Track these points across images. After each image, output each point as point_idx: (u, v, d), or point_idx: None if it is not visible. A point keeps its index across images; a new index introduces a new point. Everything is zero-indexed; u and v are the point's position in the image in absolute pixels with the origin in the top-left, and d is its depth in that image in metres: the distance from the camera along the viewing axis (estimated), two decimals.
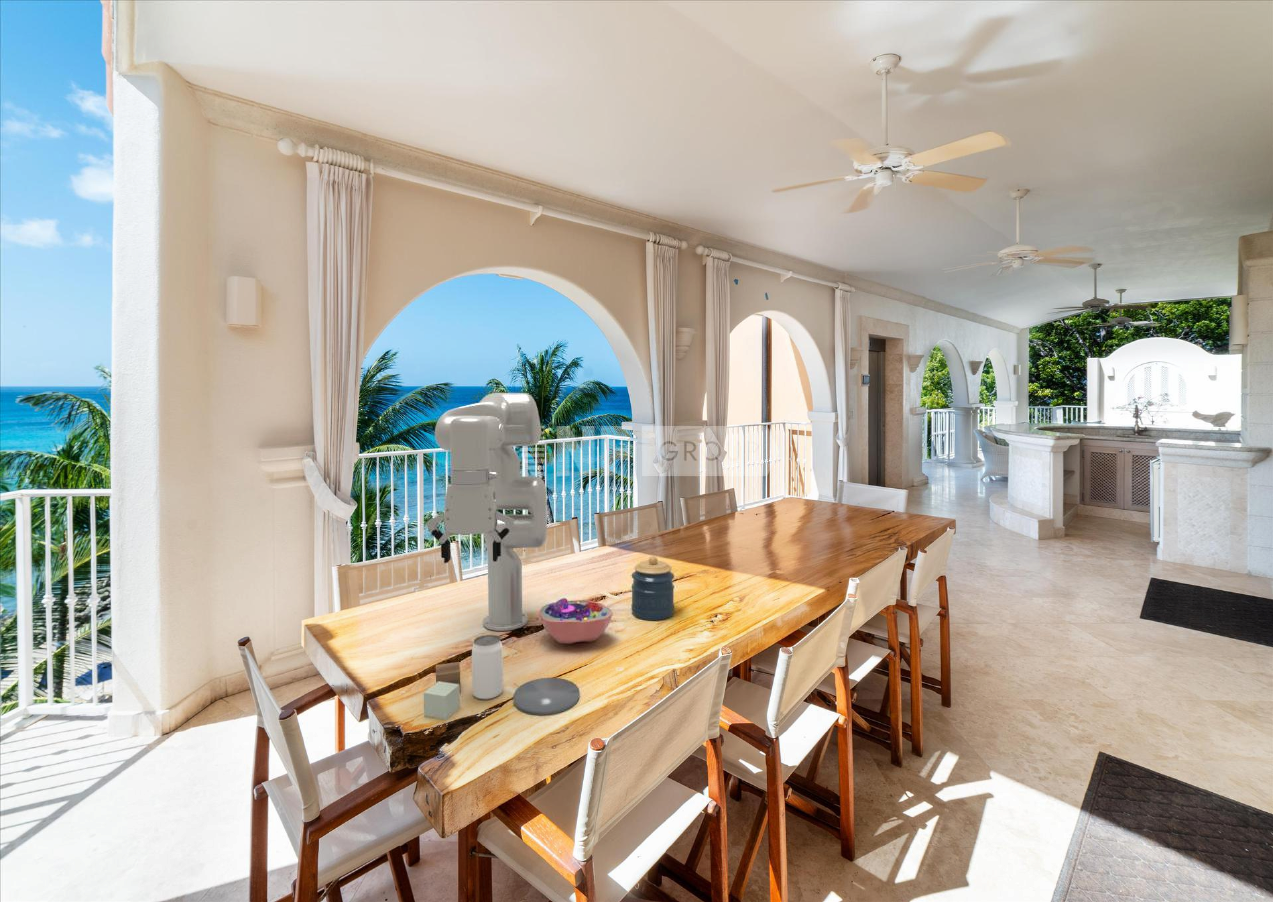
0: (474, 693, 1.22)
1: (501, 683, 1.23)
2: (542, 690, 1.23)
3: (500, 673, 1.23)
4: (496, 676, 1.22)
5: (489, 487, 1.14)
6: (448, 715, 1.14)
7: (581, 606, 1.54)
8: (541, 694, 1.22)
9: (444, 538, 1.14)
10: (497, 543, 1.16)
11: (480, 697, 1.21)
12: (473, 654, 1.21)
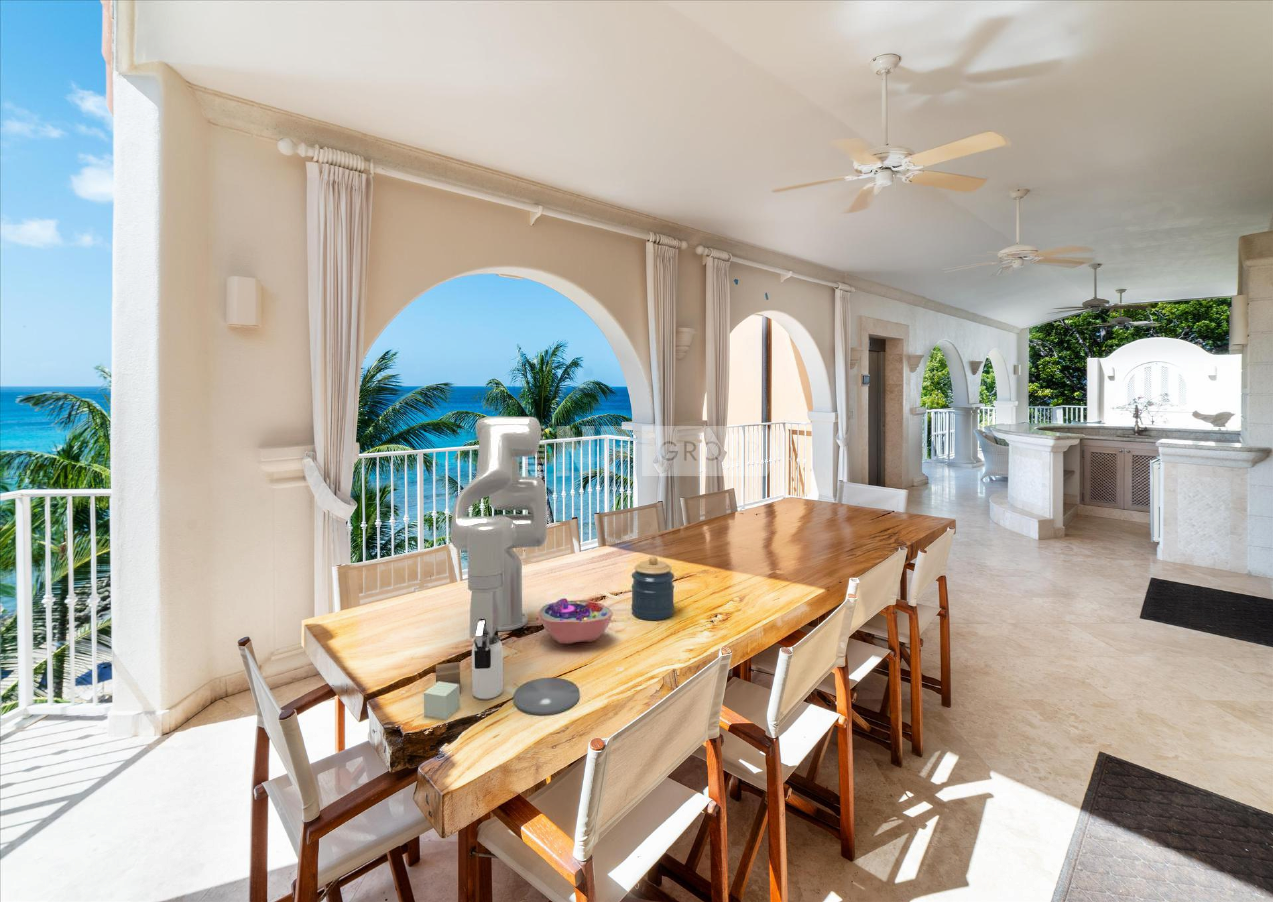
0: (474, 693, 1.22)
1: (501, 683, 1.23)
2: (542, 690, 1.23)
3: (500, 673, 1.23)
4: (496, 676, 1.22)
5: None
6: (448, 715, 1.14)
7: (581, 606, 1.54)
8: (541, 694, 1.22)
9: (488, 644, 1.18)
10: (494, 632, 1.28)
11: (480, 697, 1.21)
12: (473, 654, 1.21)
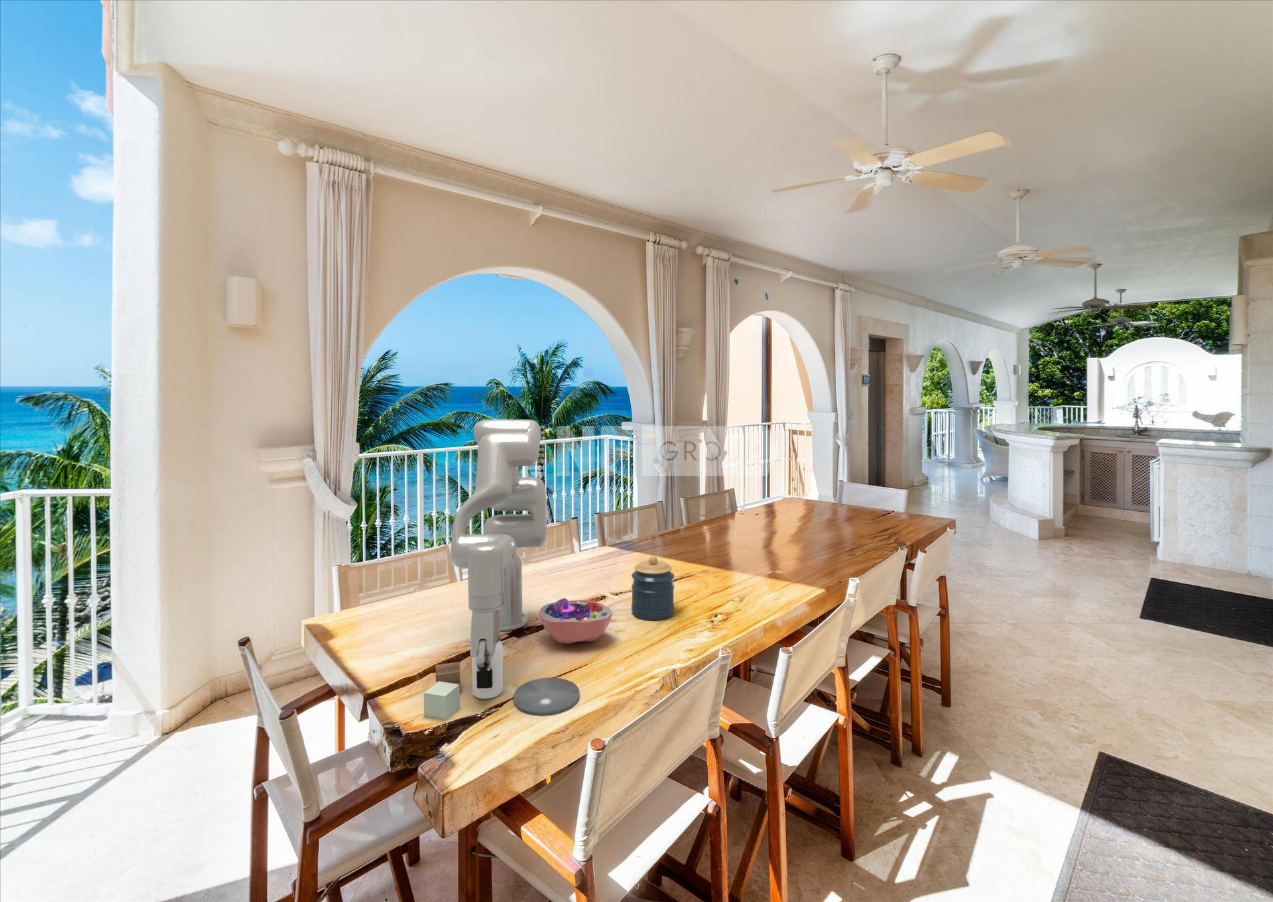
0: (474, 693, 1.22)
1: (501, 683, 1.23)
2: (542, 690, 1.23)
3: (500, 673, 1.23)
4: (496, 675, 1.22)
5: None
6: (448, 715, 1.14)
7: (581, 606, 1.54)
8: (541, 694, 1.22)
9: (490, 664, 1.20)
10: None
11: (480, 697, 1.21)
12: None
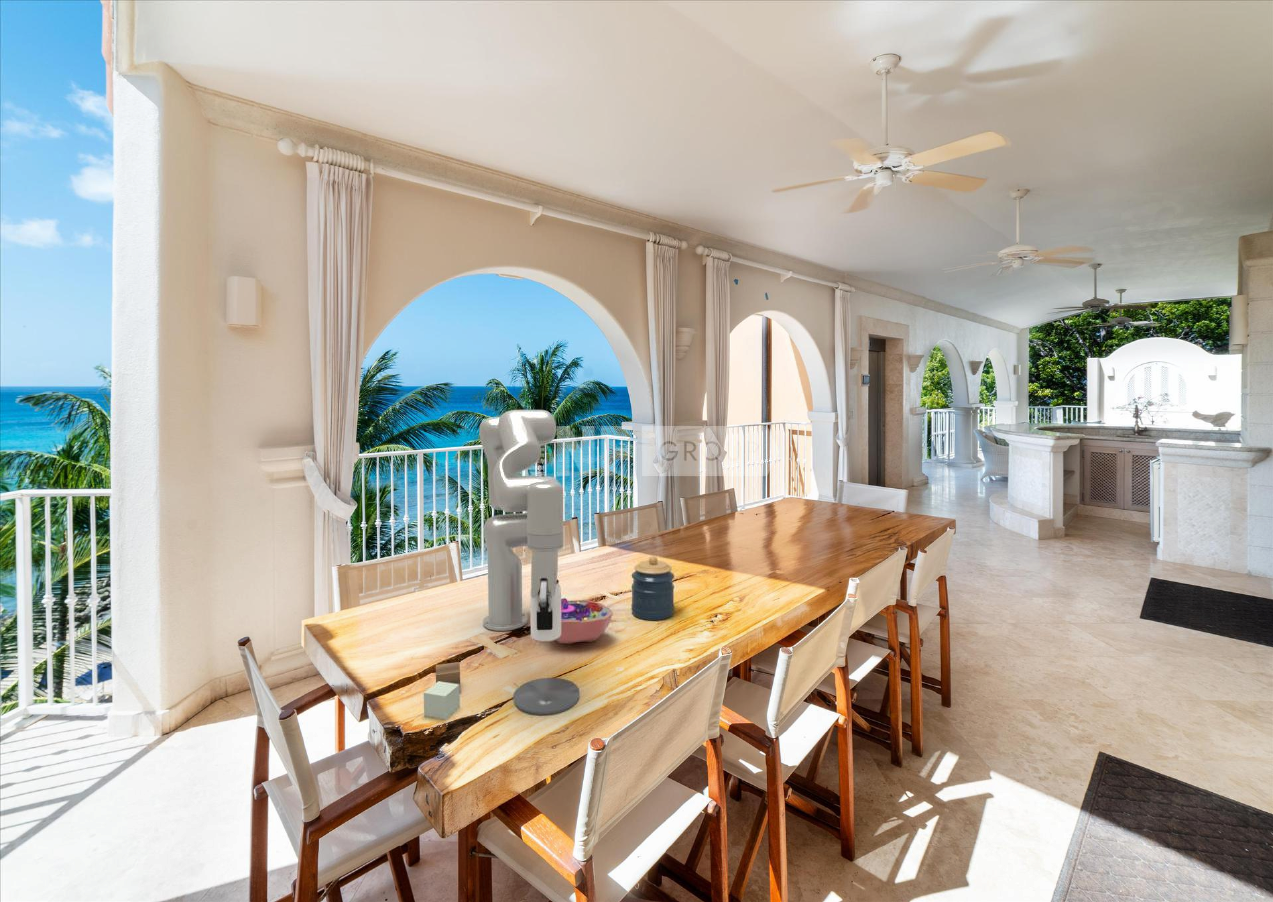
0: (533, 636, 1.19)
1: (560, 626, 1.20)
2: (542, 690, 1.23)
3: (559, 616, 1.20)
4: (556, 618, 1.19)
5: None
6: (448, 715, 1.14)
7: (581, 606, 1.54)
8: (541, 694, 1.22)
9: (550, 605, 1.17)
10: None
11: (540, 639, 1.18)
12: None
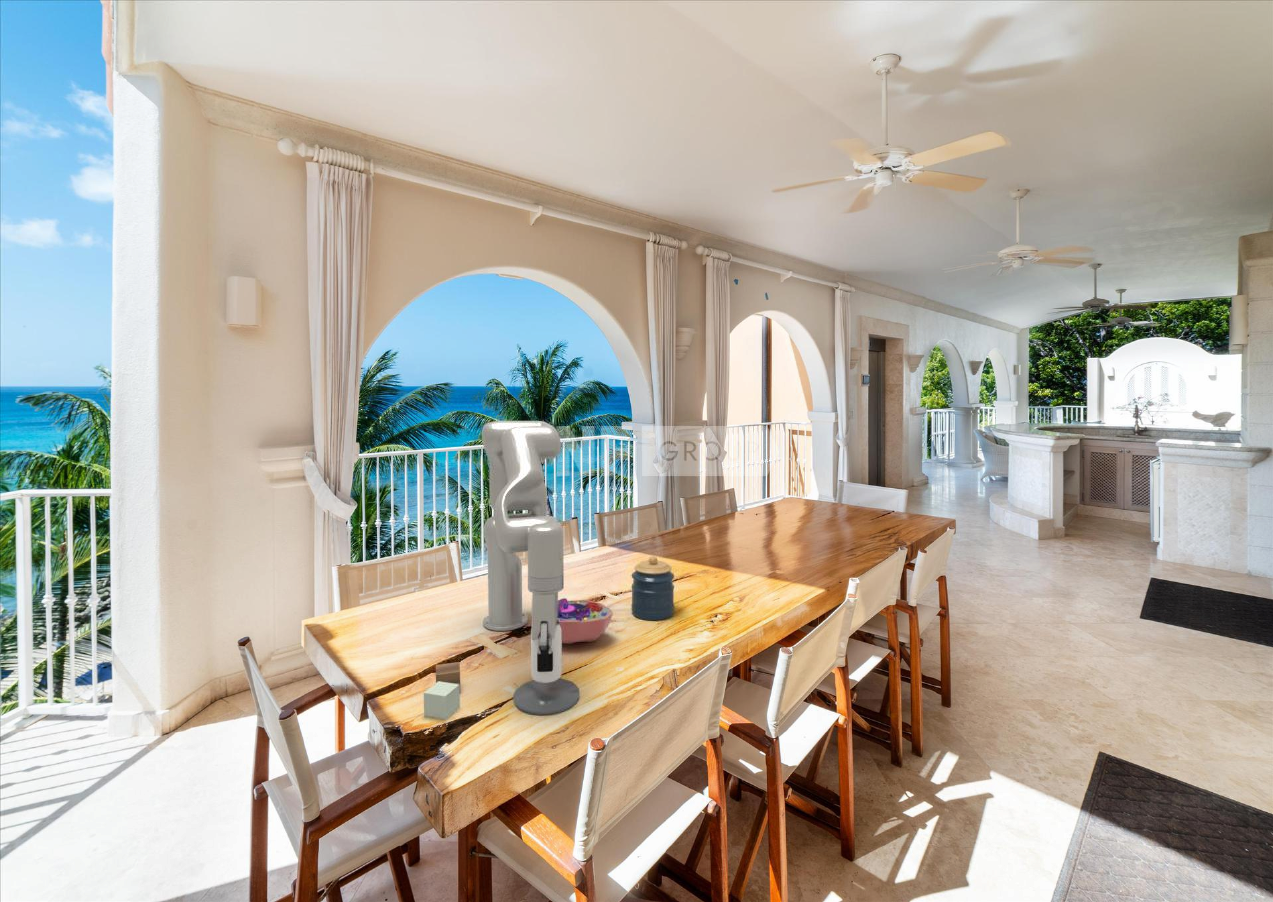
0: (533, 677, 1.19)
1: (560, 667, 1.21)
2: (542, 690, 1.23)
3: (560, 657, 1.20)
4: (556, 659, 1.19)
5: None
6: (448, 715, 1.14)
7: (581, 606, 1.54)
8: (541, 694, 1.22)
9: (551, 647, 1.17)
10: None
11: (540, 681, 1.19)
12: None
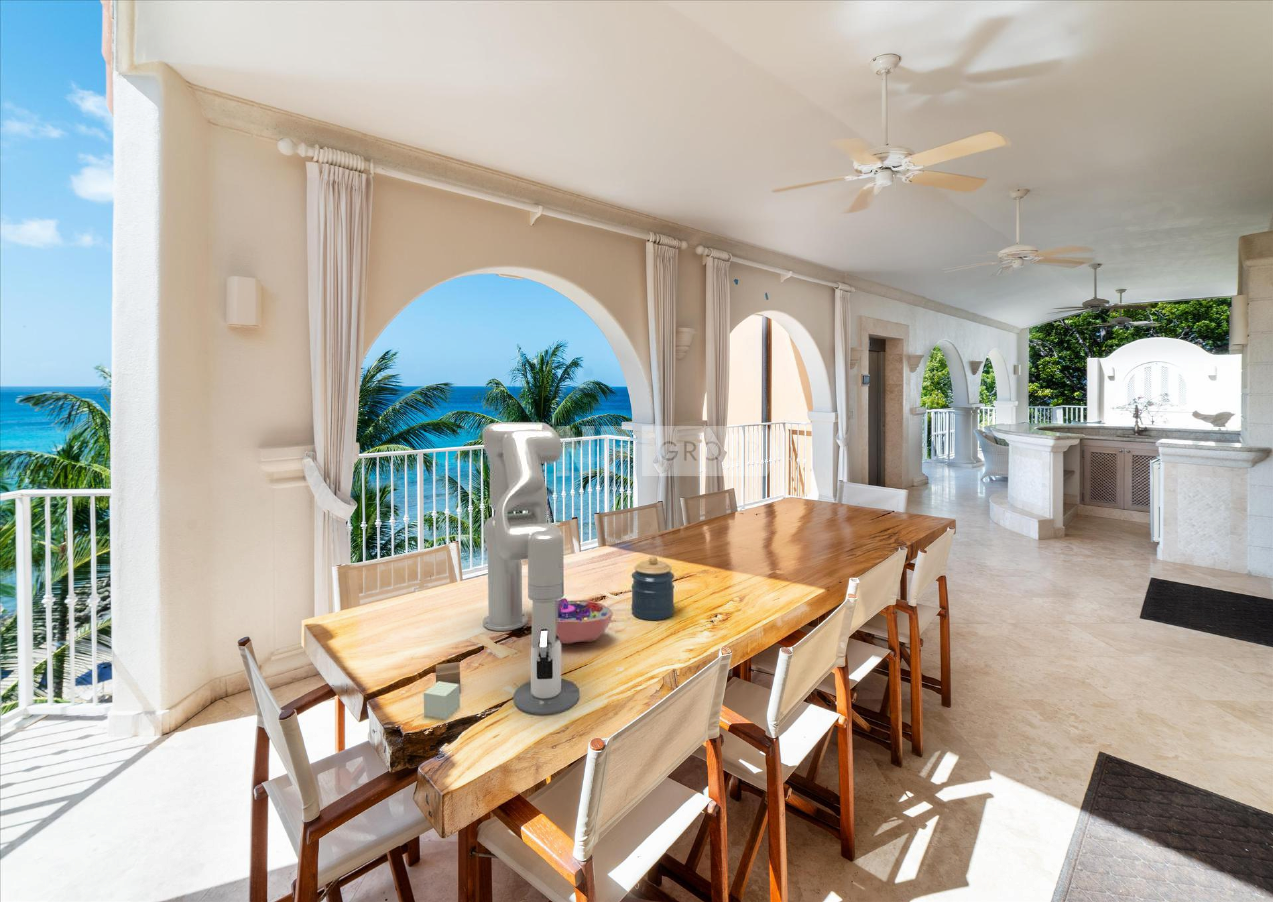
0: (533, 692, 1.20)
1: (560, 682, 1.22)
2: None
3: (559, 672, 1.21)
4: (555, 675, 1.20)
5: None
6: (448, 715, 1.14)
7: (581, 606, 1.54)
8: None
9: None
10: None
11: (539, 696, 1.19)
12: (533, 653, 1.20)
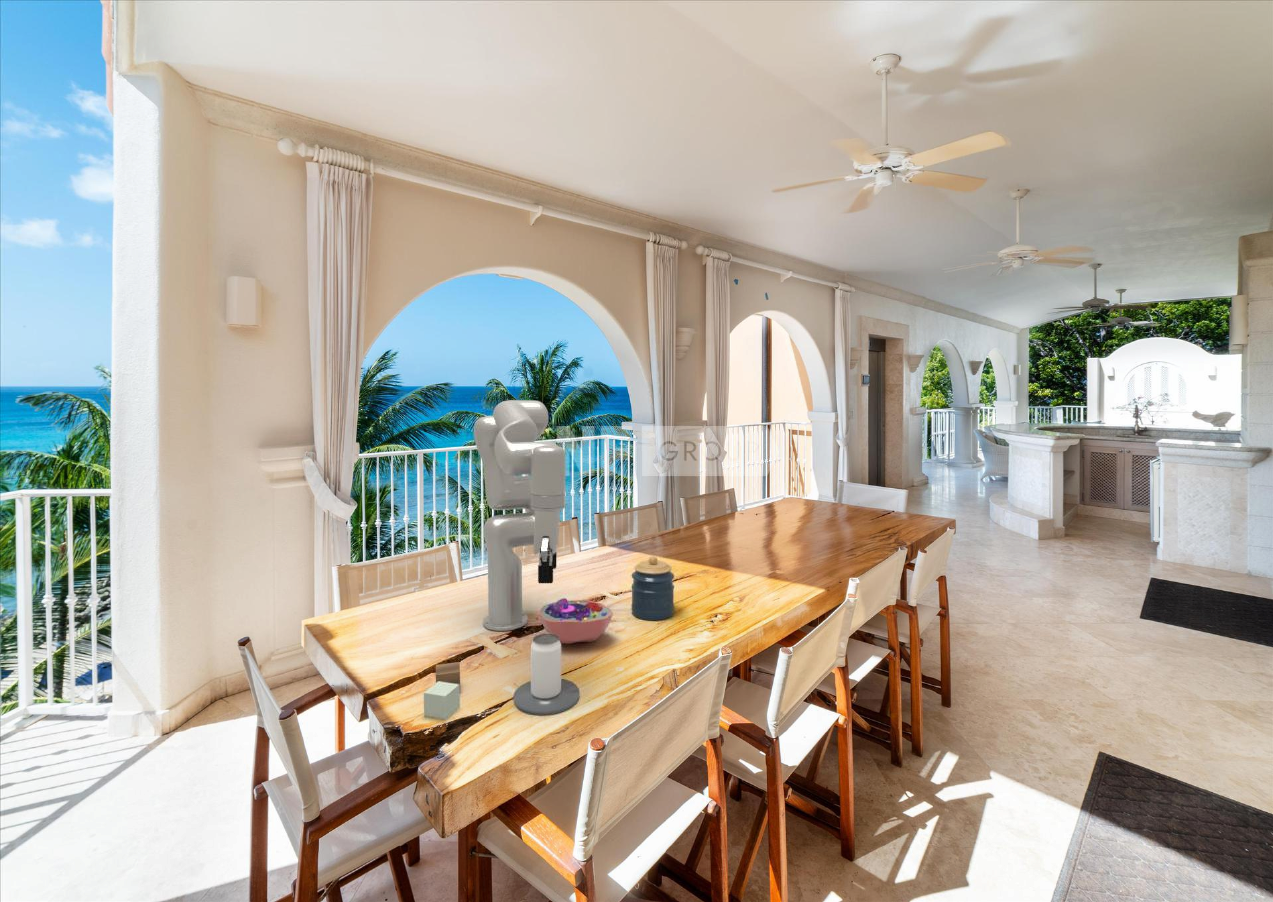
0: (533, 692, 1.20)
1: (560, 683, 1.21)
2: None
3: (559, 672, 1.21)
4: (555, 675, 1.20)
5: None
6: (448, 715, 1.14)
7: (581, 606, 1.54)
8: None
9: (551, 560, 1.23)
10: None
11: (539, 696, 1.19)
12: (532, 653, 1.20)
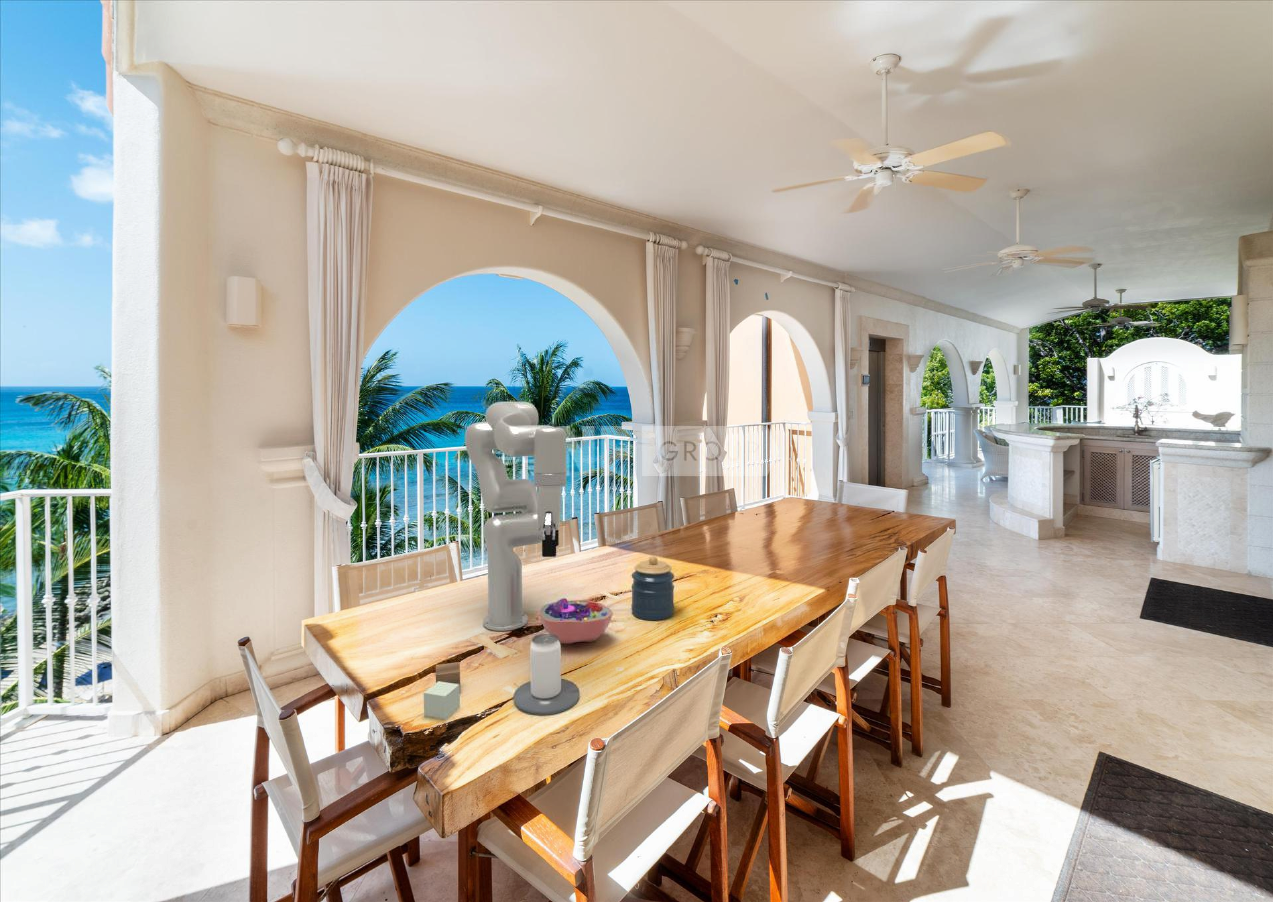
0: (533, 692, 1.20)
1: (559, 682, 1.21)
2: None
3: (559, 672, 1.21)
4: (555, 675, 1.20)
5: None
6: (448, 715, 1.14)
7: (581, 606, 1.54)
8: None
9: (554, 534, 1.29)
10: (555, 530, 1.40)
11: (539, 696, 1.19)
12: (532, 653, 1.20)
